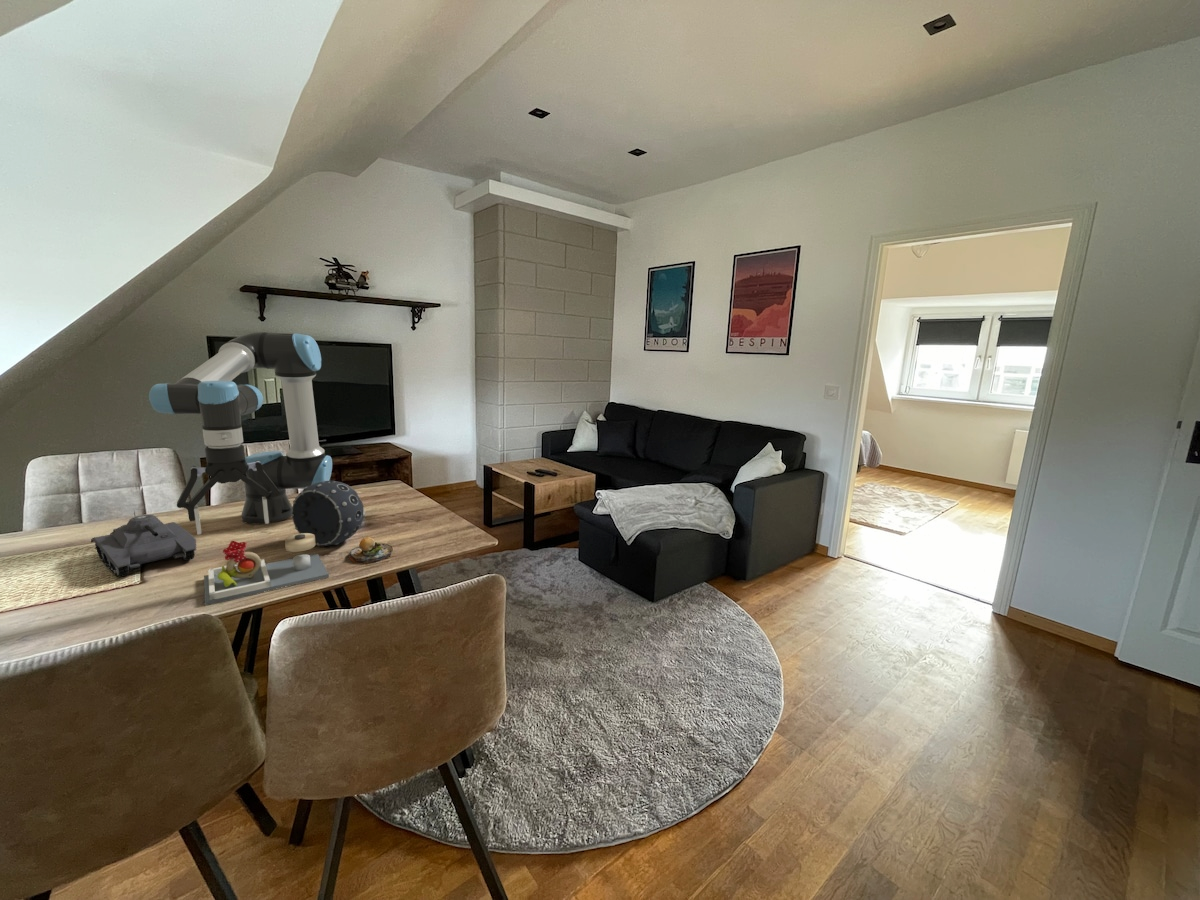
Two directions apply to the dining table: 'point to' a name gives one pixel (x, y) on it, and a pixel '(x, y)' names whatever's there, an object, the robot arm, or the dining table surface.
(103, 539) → the toy tank
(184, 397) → the robot arm
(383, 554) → the burger
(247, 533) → the dining table surface
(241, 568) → the bird rattle
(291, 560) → the board
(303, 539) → the wheel
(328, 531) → the dotted grey bowl
